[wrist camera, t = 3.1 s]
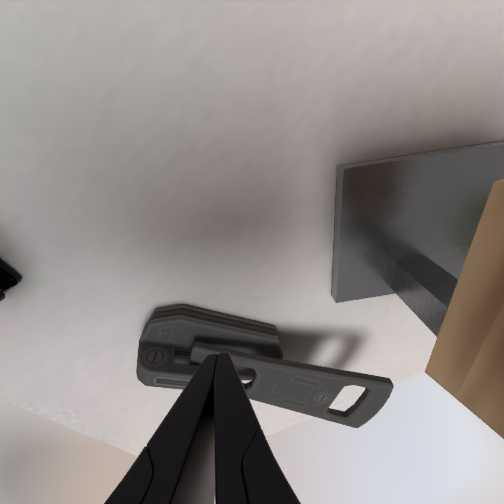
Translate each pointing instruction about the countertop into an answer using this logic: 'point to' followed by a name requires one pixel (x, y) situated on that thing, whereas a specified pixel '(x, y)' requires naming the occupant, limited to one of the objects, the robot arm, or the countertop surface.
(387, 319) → the countertop surface
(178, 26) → the countertop surface
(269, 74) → the countertop surface
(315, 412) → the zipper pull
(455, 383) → the cardboard box
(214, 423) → the robot arm
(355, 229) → the post stand
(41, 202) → the countertop surface
